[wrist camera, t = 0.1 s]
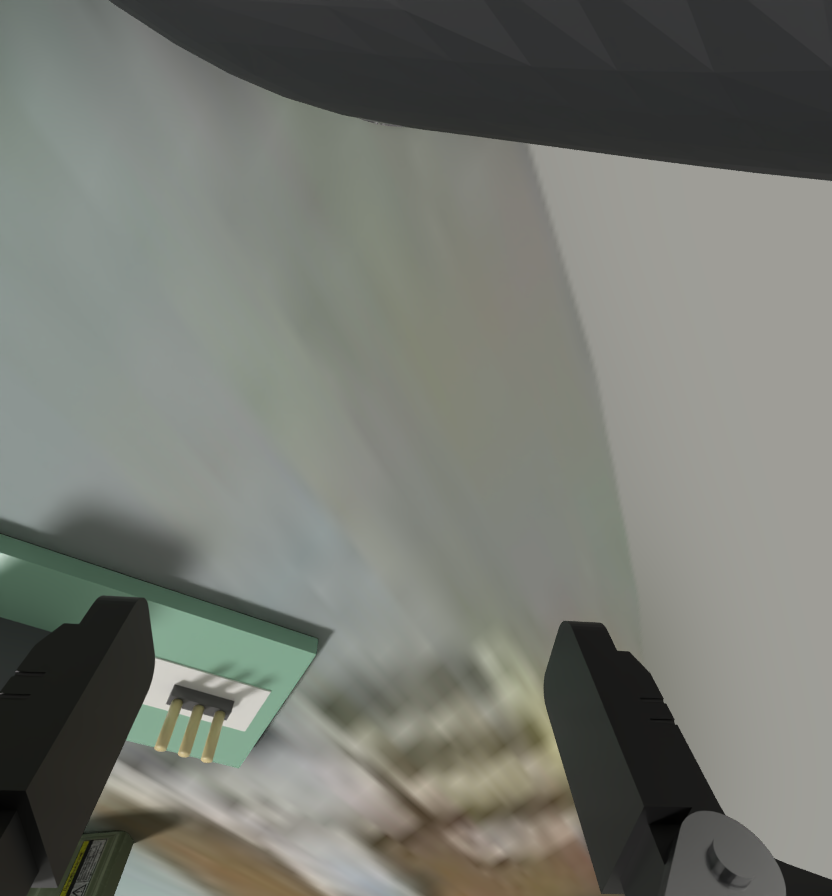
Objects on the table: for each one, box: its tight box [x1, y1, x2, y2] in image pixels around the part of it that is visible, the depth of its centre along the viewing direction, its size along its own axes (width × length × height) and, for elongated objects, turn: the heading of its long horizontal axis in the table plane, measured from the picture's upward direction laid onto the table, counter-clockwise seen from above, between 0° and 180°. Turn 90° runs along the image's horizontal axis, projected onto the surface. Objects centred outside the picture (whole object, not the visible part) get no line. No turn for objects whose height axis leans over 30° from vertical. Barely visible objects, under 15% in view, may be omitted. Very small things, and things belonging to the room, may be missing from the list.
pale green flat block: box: [0, 534, 318, 768], centre depth 33 cm, size 22×14×5 cm, turn 61°
